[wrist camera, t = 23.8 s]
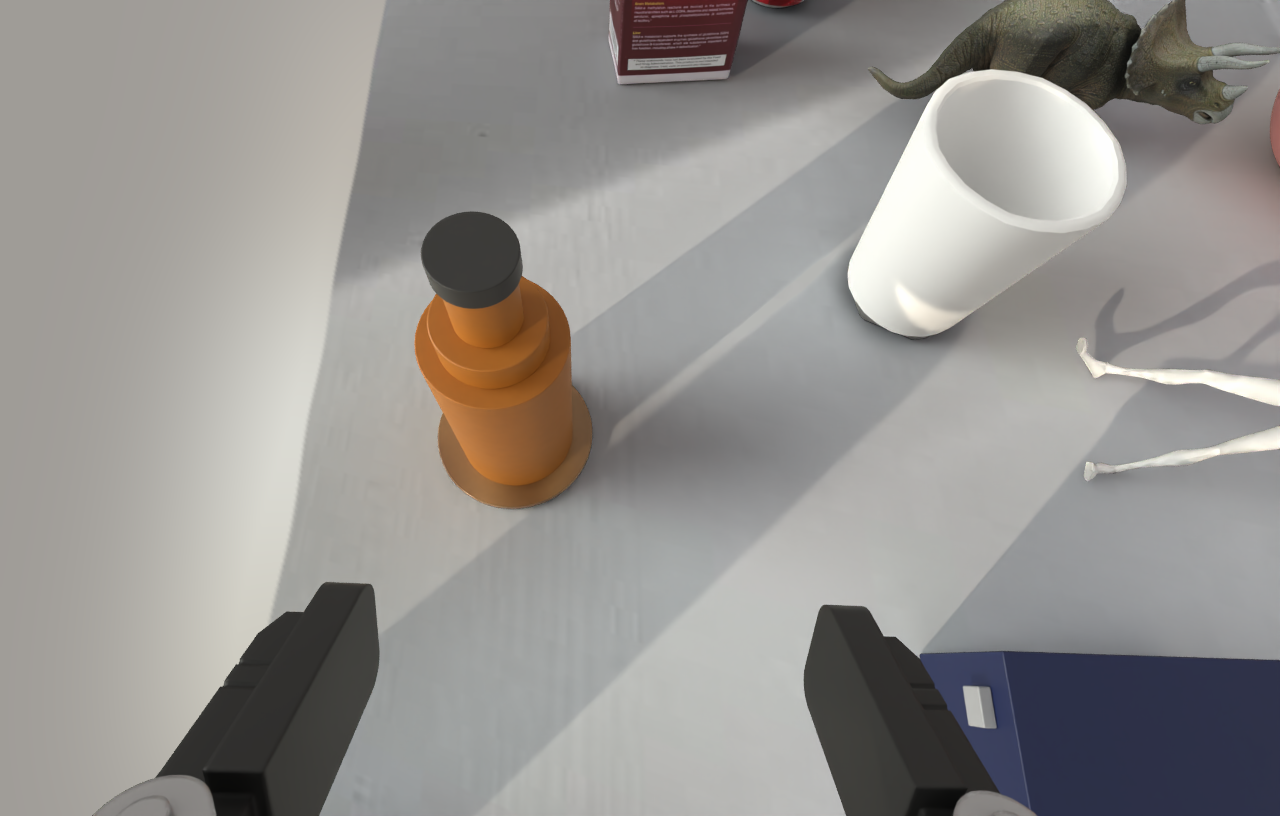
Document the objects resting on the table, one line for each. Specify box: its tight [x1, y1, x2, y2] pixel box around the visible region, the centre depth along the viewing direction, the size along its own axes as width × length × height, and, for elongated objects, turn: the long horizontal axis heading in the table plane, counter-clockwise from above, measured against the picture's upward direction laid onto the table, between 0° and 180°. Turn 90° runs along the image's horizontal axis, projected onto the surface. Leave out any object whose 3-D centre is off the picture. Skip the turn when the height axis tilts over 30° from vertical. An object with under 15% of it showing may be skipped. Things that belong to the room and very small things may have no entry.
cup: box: [847, 69, 1127, 339], centre depth 35 cm, size 10×10×13 cm
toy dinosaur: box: [868, 0, 1280, 124], centre depth 43 cm, size 22×8×11 cm, turn 75°
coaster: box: [438, 386, 592, 509], centre depth 35 cm, size 8×8×1 cm
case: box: [920, 651, 1280, 816], centre depth 28 cm, size 16×10×7 cm, turn 88°
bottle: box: [415, 212, 573, 486], centre depth 27 cm, size 6×6×17 cm
